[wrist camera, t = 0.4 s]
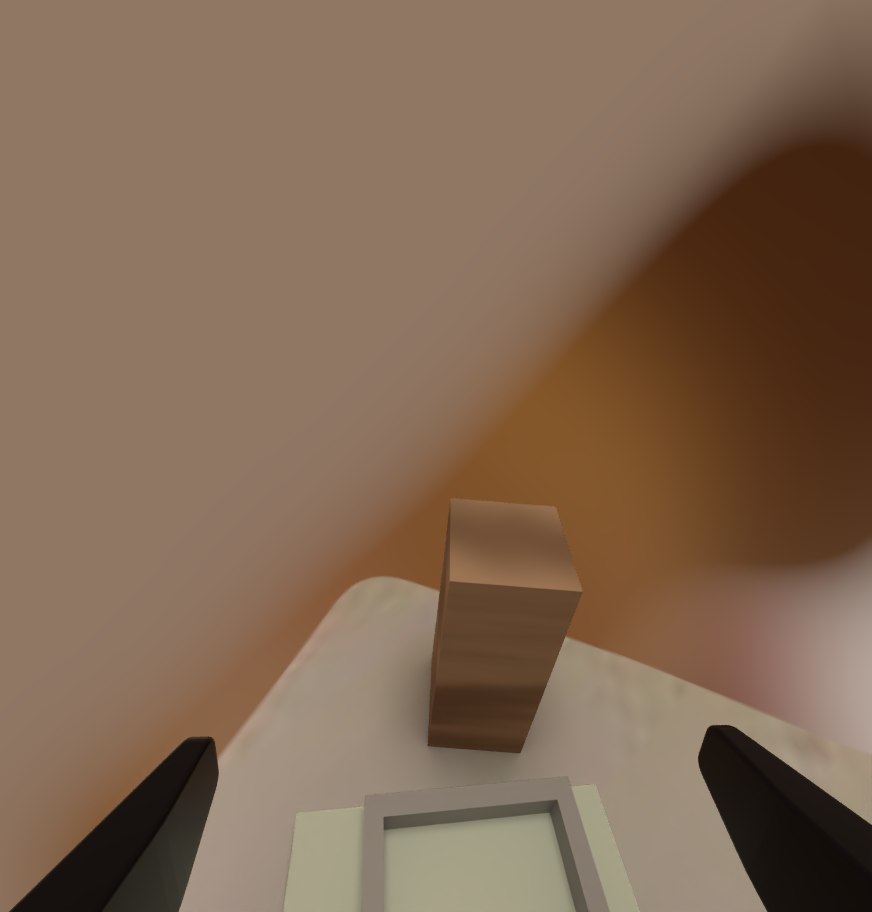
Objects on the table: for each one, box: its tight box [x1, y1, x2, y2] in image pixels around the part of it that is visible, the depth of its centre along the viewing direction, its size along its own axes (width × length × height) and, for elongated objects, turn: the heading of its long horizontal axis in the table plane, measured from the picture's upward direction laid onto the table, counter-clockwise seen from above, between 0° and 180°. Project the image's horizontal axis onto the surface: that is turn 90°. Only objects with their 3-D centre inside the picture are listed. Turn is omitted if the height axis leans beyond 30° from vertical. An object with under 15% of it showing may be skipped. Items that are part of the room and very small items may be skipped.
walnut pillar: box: [428, 498, 583, 753], centre depth 21 cm, size 5×5×13 cm
